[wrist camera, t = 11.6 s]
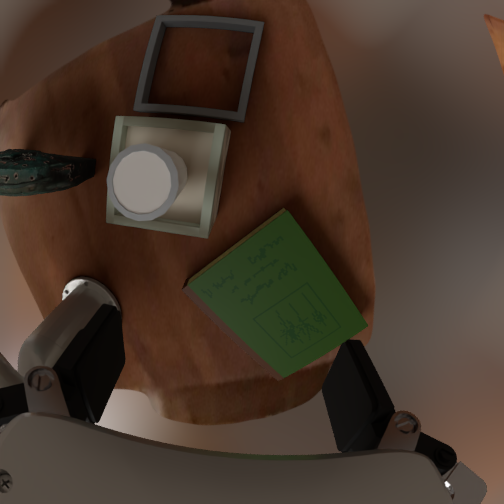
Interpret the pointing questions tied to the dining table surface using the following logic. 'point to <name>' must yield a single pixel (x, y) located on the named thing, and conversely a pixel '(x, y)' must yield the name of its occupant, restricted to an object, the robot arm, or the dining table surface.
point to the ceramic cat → (41, 172)
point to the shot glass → (145, 181)
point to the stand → (196, 160)
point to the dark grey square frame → (196, 22)
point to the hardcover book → (276, 298)
